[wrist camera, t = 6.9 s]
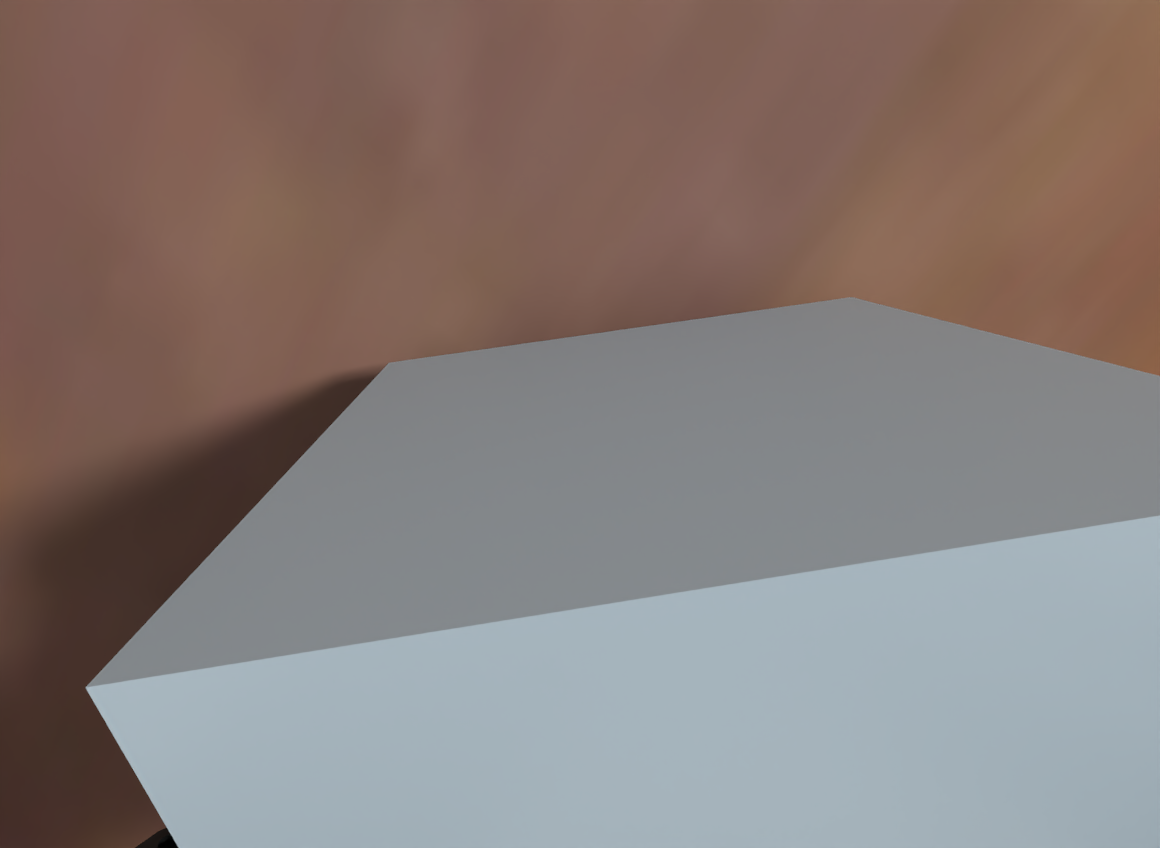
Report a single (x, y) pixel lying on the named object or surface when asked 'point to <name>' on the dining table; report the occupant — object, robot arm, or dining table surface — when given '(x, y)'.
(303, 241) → the dining table surface
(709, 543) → the pale blue cuboid
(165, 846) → the robot arm
